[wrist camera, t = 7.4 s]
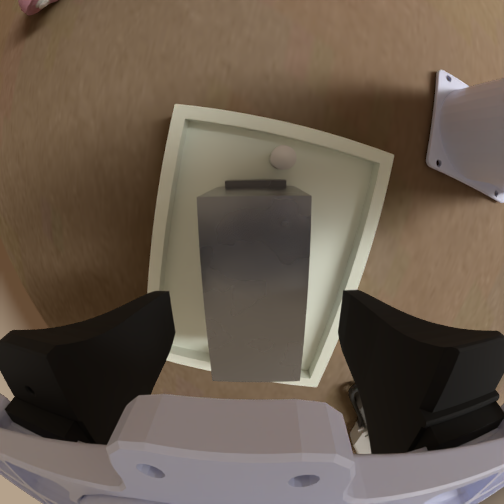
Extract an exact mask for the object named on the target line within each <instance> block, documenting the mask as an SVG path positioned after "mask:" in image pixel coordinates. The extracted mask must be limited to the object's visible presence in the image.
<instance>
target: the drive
mask: <svg viewBox="0 0 504 504" xmlns="http://www.w3.org/2000/svg"><path fill="white" fill-rule="evenodd" d="M311 204H312V196H311V195H309V194H307V193H306V192H304V191H302V190H300V189H299V188H297V187H295V186H286V180H285V179H250V180H226V181H225V186H222V187H217V188H215V189H213V190H210V191H208V192H206V193H204V194H202V195H200V196H198V197H197V216H198V233H199V249H200V263H201V276H202V288H203V299H204V310H205V320H206V330H207V339H208V348H209V356H210V365H211V373H212V380H213V381H229V382H289V381H300V375H301V366H302V356H303V346H304V335H305V323H306V311H307V296H308V281H309V262H310V239H311Z"/></svg>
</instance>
